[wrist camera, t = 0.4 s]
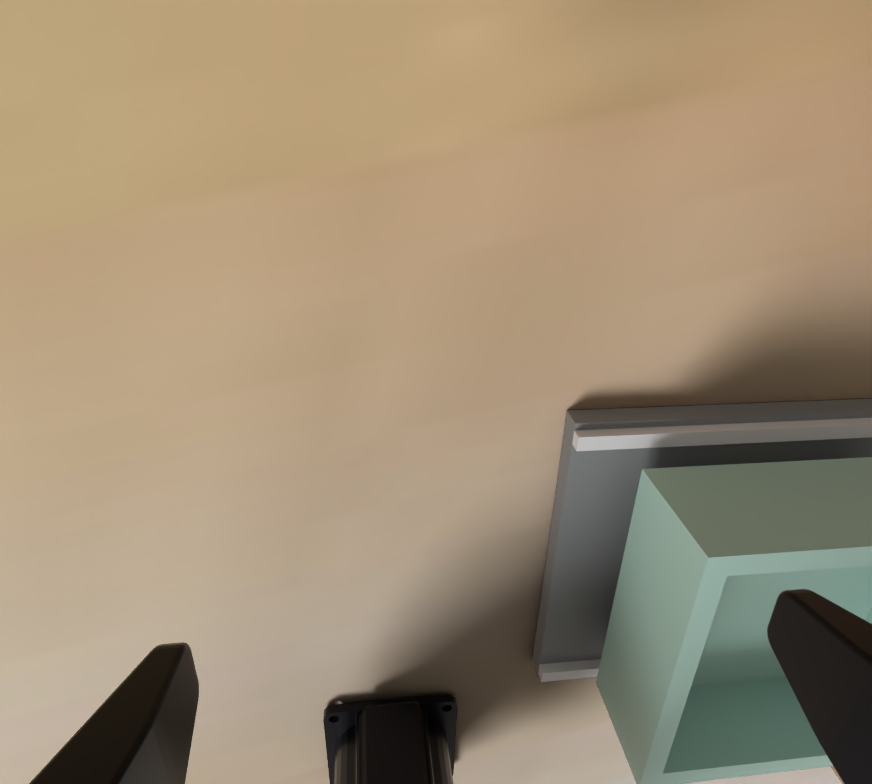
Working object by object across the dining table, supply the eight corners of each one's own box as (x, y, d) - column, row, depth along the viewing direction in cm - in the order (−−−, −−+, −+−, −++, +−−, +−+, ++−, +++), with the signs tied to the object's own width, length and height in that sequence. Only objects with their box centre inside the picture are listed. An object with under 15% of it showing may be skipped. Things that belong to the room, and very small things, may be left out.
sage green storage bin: (812, 637, 29) (911, 756, 24) (586, 657, 28) (638, 788, 23) (901, 436, 24) (1052, 533, 19) (627, 449, 23) (708, 557, 17)
